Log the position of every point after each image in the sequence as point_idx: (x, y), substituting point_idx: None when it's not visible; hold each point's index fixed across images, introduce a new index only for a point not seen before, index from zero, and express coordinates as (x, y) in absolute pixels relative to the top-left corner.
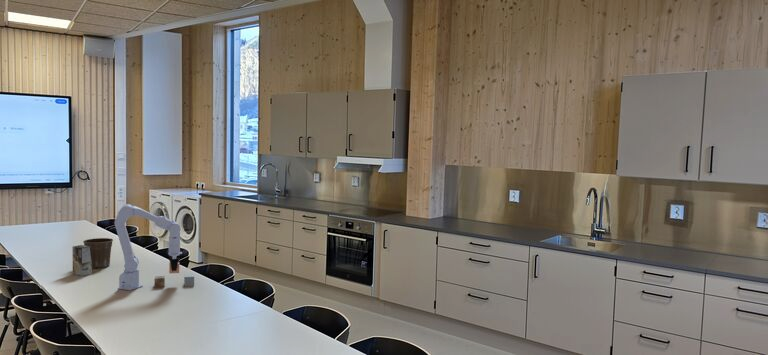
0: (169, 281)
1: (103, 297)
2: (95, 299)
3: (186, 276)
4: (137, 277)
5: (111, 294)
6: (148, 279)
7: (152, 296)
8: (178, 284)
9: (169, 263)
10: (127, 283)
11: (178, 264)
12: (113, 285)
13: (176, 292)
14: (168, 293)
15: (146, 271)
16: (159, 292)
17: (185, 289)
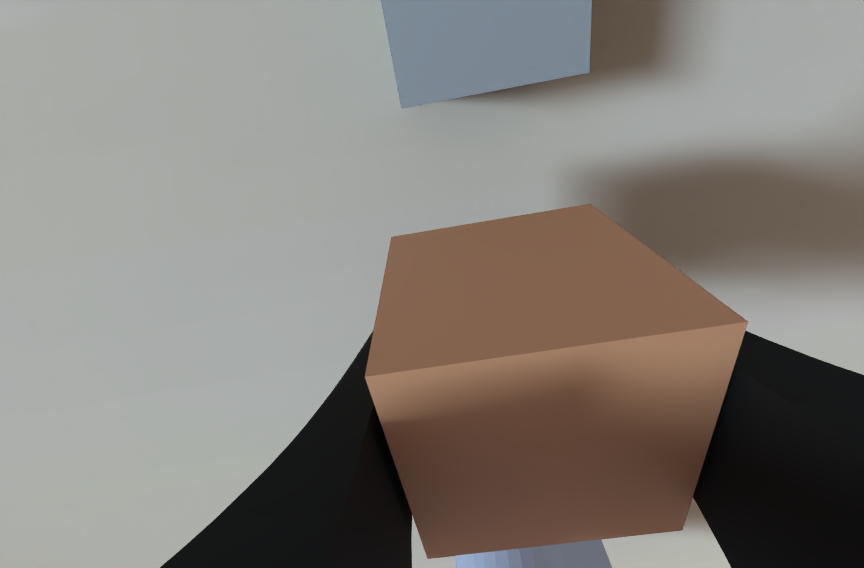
0: (306, 292)
1: (699, 545)
2: (723, 560)
3: (543, 35)
4: (548, 555)
5: None
6: (257, 451)
7: (847, 332)
8: (444, 172)
9: (576, 541)
10: (601, 549)
11: (719, 333)
12: (435, 561)
13: (833, 131)
14: (824, 216)
15: (3, 503)
16: (734, 304)
17: (738, 23)
